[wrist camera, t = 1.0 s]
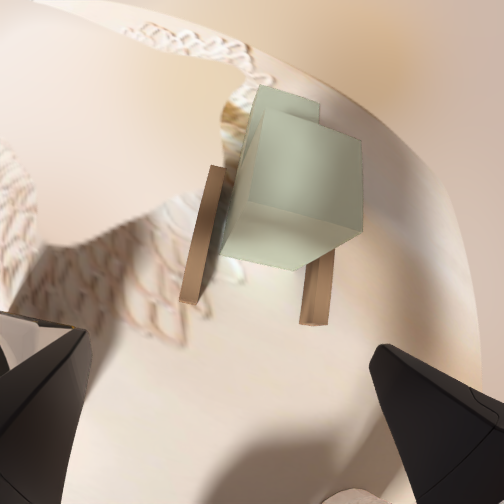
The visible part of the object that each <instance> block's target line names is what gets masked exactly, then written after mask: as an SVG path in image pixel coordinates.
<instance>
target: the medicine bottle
mask: <svg viewBox="0 0 504 504" xmlns="http://www.w3.org/2000/svg"><path fill="white" fill-rule="evenodd" d="M74 328H76V327H74V326H70V325H64V324H59V323H54V322H49V321H44V320H39V319H35V318H30V317H25V316H21V315H17V314H13V313H8V312H3V311H0V377H1V376H2V375H4V374H5V373H7V372H8V371H10V370H11V369H13V368H14V367H16V366H17V365H19V364H20V363H22V362H23V361H25V360H26V359H28V358H29V357H31V356H32V355H34V354H35V353H37V352H38V351H40V350H41V349H43V348H44V347H46V346H47V345H49V344H50V343H52V342H53V341H55V340H56V339H58V338H59V337H61V336H63V335H64V334H66V333H67V332H69V331H70V330H72V329H74Z"/></svg>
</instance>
